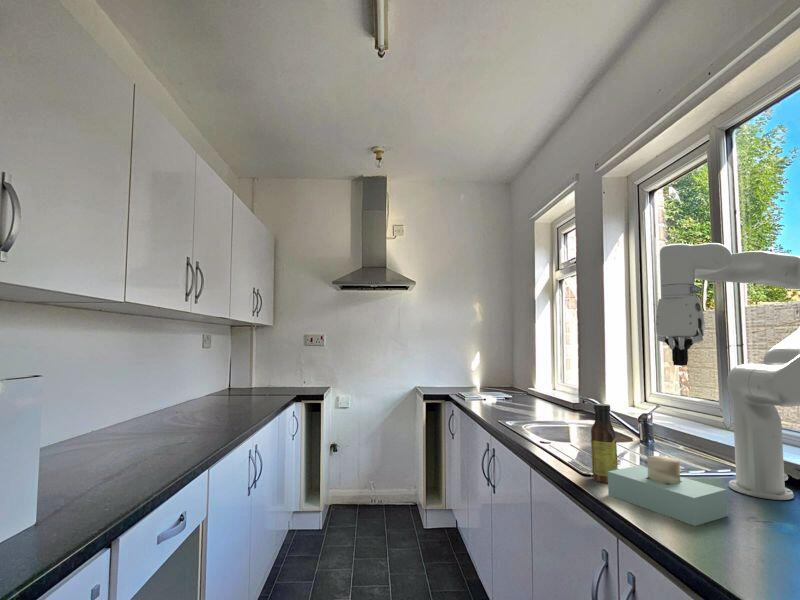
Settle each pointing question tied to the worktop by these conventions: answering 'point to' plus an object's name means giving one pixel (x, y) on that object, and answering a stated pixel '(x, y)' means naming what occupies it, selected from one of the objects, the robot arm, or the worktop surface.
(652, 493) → the block
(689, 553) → the worktop surface
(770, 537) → the worktop surface
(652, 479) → the pin
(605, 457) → the sauce bottle
